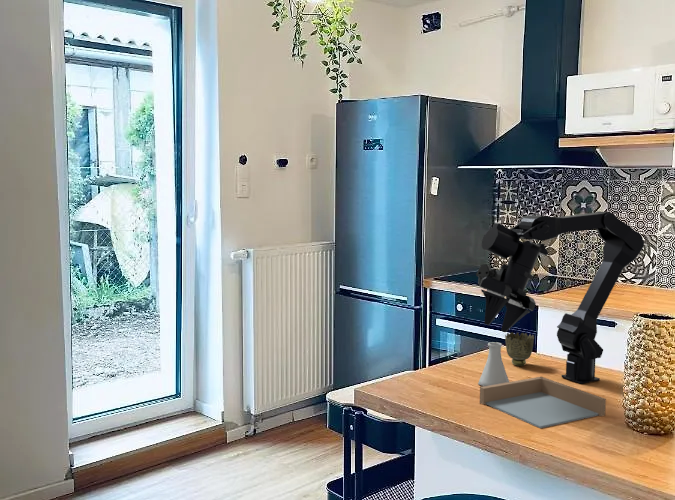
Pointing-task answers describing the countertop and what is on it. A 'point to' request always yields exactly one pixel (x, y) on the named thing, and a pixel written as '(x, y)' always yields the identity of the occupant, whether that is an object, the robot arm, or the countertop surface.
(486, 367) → the flask
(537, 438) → the countertop surface
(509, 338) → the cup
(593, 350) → the robot arm
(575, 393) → the corner arena
